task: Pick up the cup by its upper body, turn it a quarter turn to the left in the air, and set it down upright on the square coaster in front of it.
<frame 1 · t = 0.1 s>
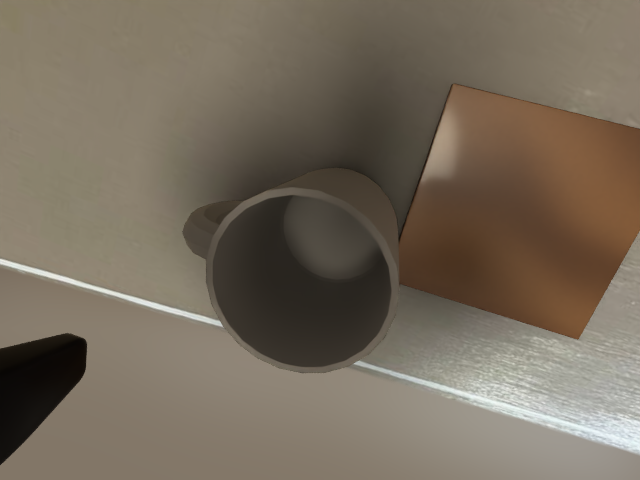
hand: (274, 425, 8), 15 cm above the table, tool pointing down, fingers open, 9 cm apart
coaster: (517, 217, 19), on the table
cup: (314, 221, 22), on the table
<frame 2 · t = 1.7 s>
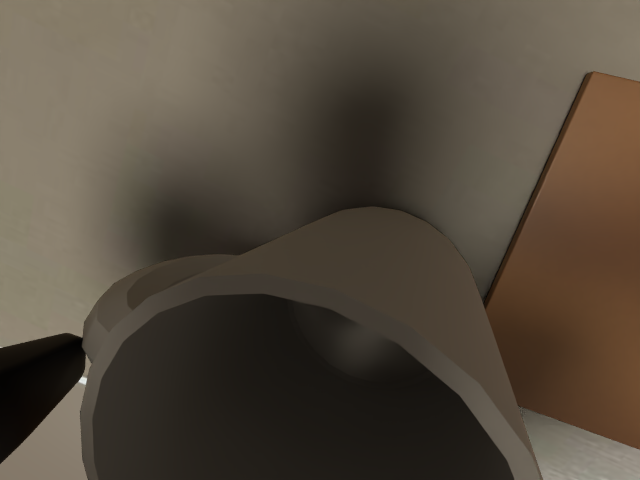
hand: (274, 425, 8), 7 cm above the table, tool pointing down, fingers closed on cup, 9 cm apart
cup: (339, 286, 14), on the table, touching gripper
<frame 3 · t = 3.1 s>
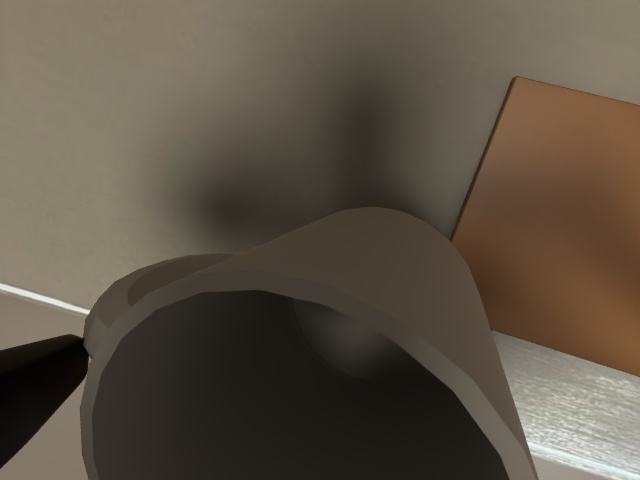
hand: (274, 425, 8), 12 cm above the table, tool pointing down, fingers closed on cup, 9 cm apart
coaster: (587, 237, 16), on the table
cup: (340, 286, 14), point 5 cm above the table, touching gripper
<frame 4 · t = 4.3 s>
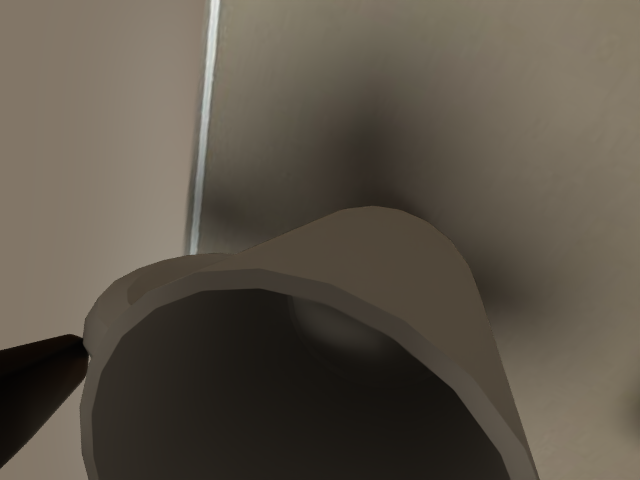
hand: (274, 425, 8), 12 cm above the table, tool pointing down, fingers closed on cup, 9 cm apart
cup: (340, 286, 14), point 5 cm above the table, touching gripper
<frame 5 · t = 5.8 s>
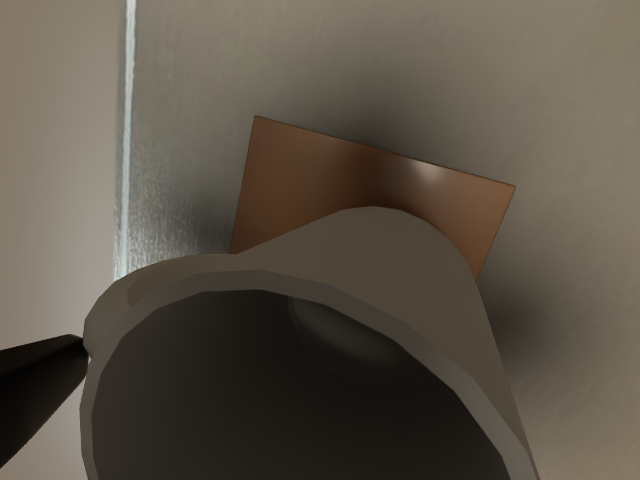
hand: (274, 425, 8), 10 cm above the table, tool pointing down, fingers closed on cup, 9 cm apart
coaster: (344, 267, 17), on the table
cup: (340, 286, 14), point 3 cm above the table, touching gripper
when the fingers open (8 cm above the table, at t = 7.4 s): cup stays where it is, resting on coaster.
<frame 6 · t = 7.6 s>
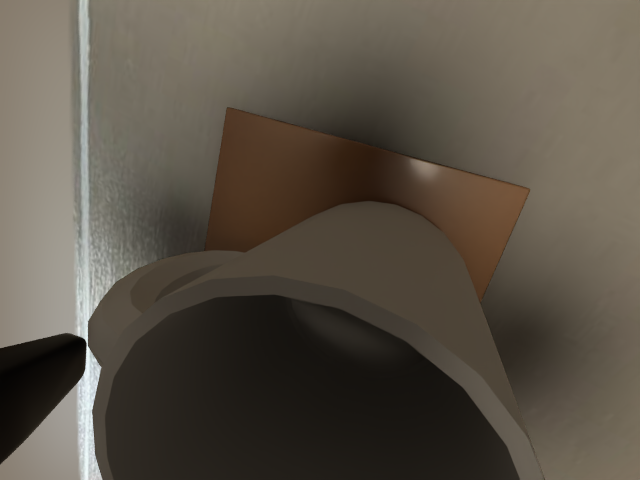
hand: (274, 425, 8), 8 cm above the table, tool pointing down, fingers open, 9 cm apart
coaster: (333, 280, 15), on the table
cup: (336, 279, 14), resting on coaster, touching gripper
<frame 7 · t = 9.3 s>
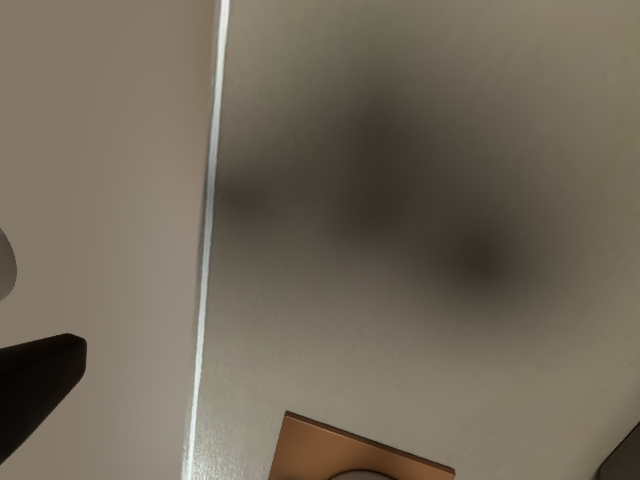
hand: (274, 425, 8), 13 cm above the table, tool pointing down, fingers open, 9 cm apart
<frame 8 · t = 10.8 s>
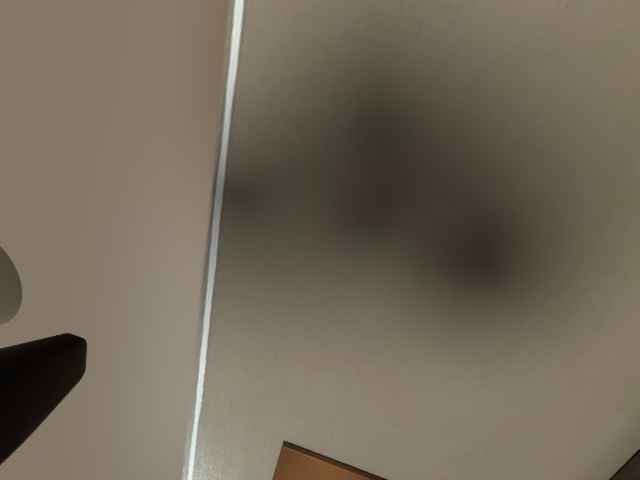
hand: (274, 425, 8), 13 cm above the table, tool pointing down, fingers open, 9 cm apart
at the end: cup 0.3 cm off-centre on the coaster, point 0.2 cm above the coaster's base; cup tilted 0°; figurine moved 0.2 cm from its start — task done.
